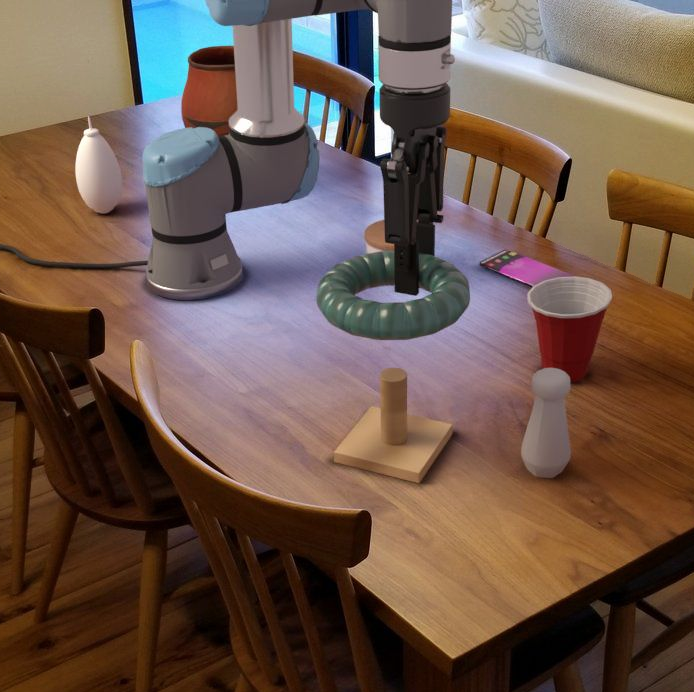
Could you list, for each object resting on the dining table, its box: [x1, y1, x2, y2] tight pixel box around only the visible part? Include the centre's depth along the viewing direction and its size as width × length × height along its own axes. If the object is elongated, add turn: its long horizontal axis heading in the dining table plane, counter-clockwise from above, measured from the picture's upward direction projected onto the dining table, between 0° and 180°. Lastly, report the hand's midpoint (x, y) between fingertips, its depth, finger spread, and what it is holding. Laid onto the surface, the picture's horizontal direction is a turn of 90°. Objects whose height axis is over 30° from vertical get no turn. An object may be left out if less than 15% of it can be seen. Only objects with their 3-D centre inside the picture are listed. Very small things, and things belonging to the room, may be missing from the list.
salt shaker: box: [520, 368, 572, 479], centre depth 123 cm, size 6×6×13 cm
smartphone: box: [478, 248, 579, 287], centre depth 170 cm, size 7×15×1 cm, turn 45°
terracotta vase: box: [180, 45, 238, 137], centre depth 199 cm, size 19×19×25 cm
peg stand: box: [333, 367, 454, 484], centre depth 128 cm, size 11×11×10 cm
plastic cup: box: [526, 275, 613, 384], centre depth 141 cm, size 11×11×12 cm
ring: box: [316, 251, 471, 341], centre depth 120 cm, size 17×17×4 cm
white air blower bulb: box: [74, 115, 123, 215], centre depth 193 cm, size 8×8×18 cm
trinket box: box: [364, 219, 418, 254], centre depth 168 cm, size 11×11×9 cm
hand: (414, 283), depth 125 cm, fingers closed on ring, 4 cm apart
